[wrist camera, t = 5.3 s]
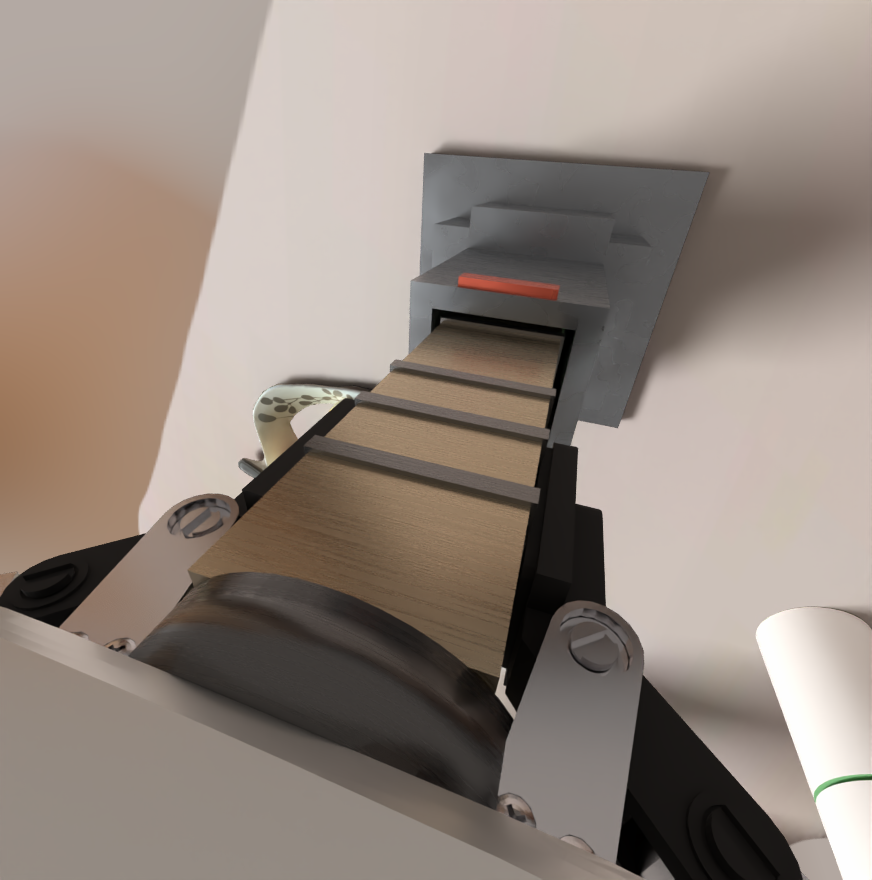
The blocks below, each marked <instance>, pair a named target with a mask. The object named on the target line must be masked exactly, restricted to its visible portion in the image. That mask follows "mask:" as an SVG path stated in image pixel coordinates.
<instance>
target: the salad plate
mask: <svg viewBox="0 0 872 880" xmlns="http://www.w3.org/2000/svg"><path fill="white" fill-rule="evenodd" d="M362 391H366V392H371V390H368V389H366V388H362V387H358V386H343V387H333V386H324V385H316V384H277V385H275V386H272V387H270V388H269V389H268V390H265V391H263V392H262V394H261V396H260V397H259V398H258V401H257V402H256V403H255V405H254V408H253V419H254V424H255V428H256V431H257V434H258V437H259V441H260V443H261V446H262V450H263V453H264V459H263V460H262V461H255V460H250V459H247V458H243V459H241V460H240V461H239V462H238V465H239V468H240V469H241V470H242V471H244V472H245V473H246V474H248V475H249V476H251V477H253V478H255V477H257V476H258V475H259V474H260V473H261V472H262V471H263V470H264V469H266V468H267V467H268V466H269V465H270V464H271V463H272V462H273V461H275V460H276V459H277V458H278V457H279V456H280V455H281V454H282V453H284V452H285V451H286V450H287V449H288V448H289V447H290V446H291V445H292V444H294V443H295V442H296V441H297V440H298V439H297V437H296V435H295V433H294V432H293V429H292V427H291V424H290V421H291V420H292V418H293V417H294V416H295V415H296V414H297V413H298V412H299V411H301V410H302V409H304V408H305V407H307V406H310V405H315V404H319V403H333V404H334V406H333V407H332V408H331V410H332V409H333V408H334V407H335V406H336V405H337V404H338V403H340V402H341V401H342V400H343V399H345V398H348V399H353V400H354V398H355V397H356V396H357V395H358V394H359V393H361V392H362ZM331 410H330V411H331ZM330 411H329V412H330Z"/></svg>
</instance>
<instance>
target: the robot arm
mask: <svg viewBox="0 0 872 880" xmlns="http://www.w3.org/2000/svg"><path fill="white" fill-rule="evenodd" d="M354 407H355V401H354V400H353V399H348V398H345V399H343V400H342V401H341V402H340V403H338V404H337V405H336V406H335V407H334V408H333V409H332V410H331V411H330V412H328V413H327V414H326V415H325V416H324V417H323V418H322V419H321V420H319V421H318V422H317V423H316V424H315V425H314V426H313V427H312V428H310V429H309V430H308V431H307V432H306V433H305V434H304V435H303V436H301V437H300V438H299V439H298V440H297V441H296V442H295V443H294V444H292V445H291V446H290V447H289V448H288V449H287V450H286V451H285V452H284V453H282V454H281V455H280V456H279V457H278V458H277V459H276V460H275V461H273V462H272V463H271V464H270V465H269V466H268V467H267V468H266V469H264V470H263V471H262V472H261V473H260V474H259V475H258V476H257V477H255V478H254V479H253V480H252V481H251V482H250V483H249V484H248V485H247V486H245V487H244V488H243V489H242V493H241V494H240V495H238V496H237V497H236V498H235V499H232V498H231V497H229V496H227V495H222V494H203V495H198V496H194V497H191V498H188V499H186V500H183V501H181V502H180V503H178V504H176V505H174V506H173V507H172V508H170V509H169V510H168V511H167V512H166V513H165V514H164V515H163V516H162V517H161V518H160V519H159V520H158V521H157V522H156V523H155V524H154V526H153V527H152V528H151V529H150V530H149V531H148V532H147V533H145V534H141V535H137V536H134V537H130V538H126V539H122V540H118V541H114V542H110V543H106V544H102V545H98V546H95V547H91V548H87V549H83V550H79V551H75V552H71V553H67V554H63V555H59V556H57V557H53V558H51V559H48V560H45V561H43V562H41V563H39V564H37V565H35V566H33V567H31V568H29V569H28V570H26V571H25V572H23V573H22V574H19V573H18V572H11V573H5V574H0V880H809V879H808V878H807V877H806V876H805V875H804V874H803V873H802V872H801V871H800V868H799V864H798V862H797V860H796V858H795V856H794V854H793V852H792V851H791V849H790V847H789V845H788V843H787V841H786V839H785V837H784V836H783V835H782V833H781V832H780V831H779V829H778V828H777V827H776V825H775V824H774V823H773V821H772V820H771V819H770V817H769V816H768V815H767V814H766V813H765V812H764V810H763V809H762V808H761V807H760V806H759V805H758V804H757V803H756V801H755V800H754V799H753V798H752V797H751V796H750V795H749V794H748V792H747V791H746V790H745V789H744V788H743V787H742V786H741V785H740V783H739V782H738V781H737V780H736V779H735V778H734V777H733V776H732V774H731V773H730V772H729V771H728V770H727V769H726V768H725V767H724V765H723V764H722V763H721V762H720V761H719V760H718V759H717V758H716V757H715V755H714V754H713V753H712V752H711V751H710V750H709V749H708V748H707V746H706V745H705V744H704V743H703V742H702V741H701V740H700V739H699V737H698V736H697V735H696V734H695V733H694V732H693V731H692V730H691V728H690V727H689V726H688V725H687V724H686V723H685V722H684V721H683V719H682V718H681V717H680V716H679V715H678V714H677V713H676V712H675V710H674V709H673V708H672V707H671V706H670V705H669V704H668V703H667V701H666V700H665V699H664V698H663V697H662V696H661V695H660V694H659V692H658V691H657V690H656V689H655V688H654V687H653V686H652V685H651V684H650V682H649V681H648V680H647V679H646V678H645V677H644V676H643V669H644V650H643V648H642V645H641V643H640V640H639V637H638V636H637V634H636V633H635V631H634V630H633V629H632V627H631V626H630V624H629V623H627V622H626V621H625V620H624V619H623V618H622V617H621V616H620V615H619V614H617V613H616V612H614V611H612V610H611V609H609V608H607V607H606V599H605V571H604V543H603V517H602V511H601V510H599V509H595V508H591V507H587V506H583V505H579V504H575V502H576V481H577V459H578V448H577V447H573V446H569V445H564V444H559V443H555V442H554V444H553V447H552V448H549V447H546V451H545V455H544V459H543V462H542V465H540V469H539V473H538V477H537V481H536V485H535V487H536V488H540V495H539V501H538V506H537V510H536V514H535V517H534V521H533V525H532V529H531V532H529V533H528V537H527V541H526V545H525V549H524V552H523V556H522V560H521V564H520V568H519V574H518V579H517V585H516V590H515V596H514V601H513V607H512V613H511V618H510V624H509V629H508V635H507V640H506V646H505V651H504V657H503V662H502V668H501V673H500V679H499V682H498V686H497V689H496V693H495V695H496V696H497V697H498V698H499V699H500V700H501V702H502V703H503V705H504V706H505V708H506V709H507V710H508V712H509V713H510V715H511V716H512V717H513V719H514V721H513V724H512V726H511V729H510V732H509V734H508V737H507V740H506V744H505V751H504V758H503V764H502V771H501V778H500V784H499V791H498V798H497V802H496V806H495V810H493V809H491V808H488V807H486V806H484V805H481V804H479V803H476V802H474V801H472V800H469V799H467V798H465V797H462V796H460V795H458V794H455V793H453V792H450V791H448V790H446V789H443V788H441V787H439V786H436V785H434V784H432V783H429V782H427V781H424V780H422V779H420V778H417V777H415V776H413V775H410V774H408V773H406V772H403V771H401V770H399V769H396V768H394V767H391V766H389V765H387V764H384V763H382V762H380V761H377V760H375V759H373V758H370V757H368V756H365V755H363V754H361V753H358V752H356V751H354V750H351V749H349V748H347V747H344V746H342V745H340V744H337V743H335V742H332V741H330V740H328V739H325V738H323V737H320V736H318V735H316V734H313V733H311V732H308V731H306V730H304V729H301V728H299V727H297V726H294V725H292V724H289V723H287V722H285V721H282V720H280V719H277V718H275V717H273V716H270V715H268V714H265V713H263V712H261V711H258V710H256V709H253V708H251V707H249V706H246V705H244V704H241V703H239V702H237V701H234V700H232V699H230V698H227V697H225V696H222V695H220V694H218V693H215V692H213V691H210V690H208V689H206V688H203V687H201V686H198V685H196V684H194V683H191V682H189V681H186V680H184V679H182V678H179V677H177V676H174V675H172V674H169V673H167V672H165V671H162V670H160V669H157V668H155V667H152V666H150V665H148V664H145V663H143V662H140V661H138V660H135V659H133V658H130V657H128V655H129V654H130V653H131V652H132V651H133V650H134V649H135V648H136V647H137V646H138V645H139V644H140V643H141V642H142V641H143V640H144V638H145V637H146V636H147V635H148V634H149V633H150V632H151V631H152V630H153V629H154V628H155V627H156V626H157V625H158V624H159V623H160V622H161V621H162V620H163V619H164V618H165V617H166V616H167V615H168V614H169V613H170V612H171V611H172V610H173V609H174V607H175V606H176V605H177V604H178V603H179V602H180V601H181V600H182V599H183V598H184V597H185V596H186V595H187V594H188V593H189V592H190V591H191V590H192V589H193V588H194V585H193V583H192V580H191V578H190V575H189V573H188V571H187V570H188V569H189V568H190V567H191V566H192V565H193V564H194V563H195V562H196V561H197V560H198V559H199V558H200V557H201V556H202V555H203V554H204V553H205V552H206V551H207V550H208V549H209V548H210V547H211V546H212V545H214V544H215V543H216V542H217V541H218V540H219V539H220V538H221V537H222V536H223V535H224V534H225V533H226V532H227V531H228V530H229V529H230V528H231V527H232V526H233V525H234V524H235V523H236V522H237V521H238V520H239V519H240V518H241V517H242V516H243V515H244V514H245V513H246V512H247V511H248V510H249V509H250V508H252V507H253V506H254V505H255V504H256V503H257V502H258V501H259V500H260V499H261V498H262V497H263V496H264V495H265V494H266V493H267V492H268V491H269V490H270V489H271V488H272V487H273V486H274V485H275V484H276V483H277V482H278V481H279V480H280V479H281V478H282V477H283V476H284V475H285V474H286V473H287V472H289V471H290V470H291V469H292V468H293V467H294V466H295V465H296V464H297V463H298V462H299V461H300V460H301V459H302V458H303V457H304V456H305V454H304V447H303V446H304V445H305V444H306V443H307V442H308V441H309V440H310V439H311V438H312V437H313V436H315V435H318V436H322V437H324V436H325V435H327V434H328V433H329V432H330V431H331V430H332V429H333V428H334V427H335V426H336V425H337V424H338V423H339V422H340V421H341V420H342V419H343V418H344V417H345V416H346V415H347V414H348V413H349V412H350V411H351V410H352V409H353V408H354Z"/></svg>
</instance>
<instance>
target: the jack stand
mask: <svg viewBox="0 0 872 880" xmlns="http://www.w3.org/2000/svg"><path fill="white" fill-rule="evenodd" d="M708 175H709V172H698V171H683V170H668V169H653V168H638V167H623V166H608V165H593V164H578V163H563V162H549V161H534V160H519V159H504V158H489V157H474V156H459V155H444V154H429V153H424V175H423V201H422V227H421V254H420V276H418V277H416V278H415V279H413V280H411V290H410V327H409V354H410V353H411V352H412V351H413V350H414V349H415V348H416V347H417V346H418V345H419V344H420V343H421V342H422V341H423V340H424V339H425V338H426V337H427V336H428V335H429V334H430V333H431V332H432V331H433V330H434V329H435V328H436V327H437V326H439V325H440V321H441V317H442V316H443V315H450V314H451V313H452V312H460V313H466V314H473V315H479V316H486V317H492V318H499V319H505V320H512V321H518V322H525V323H532V324H538V325H545V326H551V327H558V328H564V329H565V330H564V333H565V338H564V342H563V346H562V350H561V354H560V358H559V363H558V367H557V371H556V375H555V379H554V383H553V388H552V389H556V394H555V399H554V403H553V407H552V411H551V415H550V419H549V423H548V427H547V429H550V432H549V438H548V443H547V447H549V448H552V447H553V444H554V442H555V443H559V444H564V445H569V446H570V445H571V441H572V438H573V435H574V431H575V428H576V424H577V421H578V420H580V421H585V422H590V423H595V424H600V425H605V426H610V427H615V428H618V426H619V424H620V421H621V418H622V415H623V412H624V410H625V407H626V404H627V401H628V398H629V396H630V393H631V390H632V387H633V384H634V382H635V379H636V376H637V373H638V370H639V368H640V365H641V362H642V359H643V357H644V354H645V351H646V348H647V345H648V343H649V340H650V337H651V334H652V331H653V329H654V326H655V323H656V320H657V317H658V315H659V312H660V309H661V306H662V303H663V301H664V298H665V295H666V292H667V289H668V287H669V284H670V281H671V278H672V276H673V273H674V270H675V267H676V264H677V262H678V259H679V256H680V253H681V250H682V248H683V245H684V242H685V239H686V236H687V234H688V231H689V228H690V225H691V222H692V220H693V217H694V214H695V211H696V209H697V206H698V203H699V200H700V197H701V195H702V192H703V189H704V186H705V183H706V181H707V178H708Z"/></svg>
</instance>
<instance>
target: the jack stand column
mask: <svg viewBox="0 0 872 880" xmlns="http://www.w3.org/2000/svg"><path fill="white" fill-rule="evenodd" d="M564 330H565V329H564V328H558V327H551V326H545V325H538V324H532V323H525V322H518V321H512V320H505V319H499V318H492V317H486V316H479V315H473V314H466V313H460V312H452V313H451V314H450V315H443V316H442V317H441V321H440V325H439V326H437V327H436V328H435V329H434V330H433V331H432V332H431V333H430V334H429V335H428V336H427V337H426V338H425V339H424V340H423V341H422V342H421V343H420V344H419V345H418V346H417V347H416V348H415V349H414V350H413V351H412V352H411V353H410V354H409V355H408V356H407V357H406V358H405V359H404V360H403V361H401V360H395V361H394V362H393V363H392V364H390V373H389V374H388V375H387V376H386V377H385V378H384V379H383V380H382V381H381V382H380V383H379V384H378V385H377V386H376V387H375V388H374V389H373V390H372V391H371V392H366V391H362V392H361V393H359V394H358V395H357V396H356V397H355V398H354V401H355V407H354V408H353V409H352V410H351V411H350V412H349V413H348V414H347V415H346V416H345V417H344V418H343V419H342V420H341V421H340V422H339V423H338V424H337V425H336V426H335V427H334V428H333V429H332V430H331V431H330V432H329V433H328V434H327V435H325V436H324V437H322V436H318V435H315V436H313V437H312V438H311V439H310V440H309V441H308V442H307V443H306V444H305V445H304V446H303V447H304V454H305V456H304V457H303V458H302V459H301V460H300V461H299V462H298V463H297V464H296V465H295V466H294V467H293V468H292V469H291V470H290V471H289V472H287V473H286V474H285V475H284V476H283V477H282V478H281V479H280V480H279V481H278V482H277V483H276V484H275V485H274V486H273V487H272V488H271V489H270V490H269V491H268V492H267V493H266V494H265V495H264V496H263V497H262V498H261V499H260V500H259V501H258V502H257V503H256V504H255V505H254V506H253V507H252V508H250V509H249V510H248V511H247V512H246V513H245V514H244V515H243V516H242V517H241V518H240V519H239V520H238V521H237V522H236V523H235V524H234V525H233V526H232V527H231V528H230V529H229V530H228V531H227V532H226V533H225V534H224V535H223V536H222V537H221V538H220V539H219V540H218V541H217V542H216V543H215V544H214V545H212V546H211V547H210V548H209V549H208V550H207V551H206V552H205V553H204V554H203V555H202V556H201V557H200V558H199V559H198V560H197V561H196V562H195V563H194V564H193V565H192V566H191V567H190V568H189V569H188V570H187V571H188V573H189V575H190V578H191V580H192V583H193V585H194V588H193V589H192V590H191V591H190V592H189V593H188V594H187V595H186V596H185V597H184V598H183V599H182V600H181V601H180V602H179V603H178V604H177V605H176V606H175V607H174V609H173V610H172V611H171V612H170V613H169V614H168V615H167V616H166V617H165V618H164V619H163V620H162V621H161V622H160V623H159V624H158V625H157V626H156V627H155V628H154V629H153V630H152V631H151V632H150V633H149V634H148V635H147V636H146V637H145V638H144V640H143V641H142V642H141V643H140V644H139V645H138V646H137V647H136V648H135V649H134V650H133V651H132V652H131V653H130V654H129V655H128V657H130V658H133V659H135V660H138V661H140V662H143V663H145V664H148V665H150V666H152V667H155V668H157V669H160V670H162V671H165V672H167V673H169V674H172V675H174V676H177V677H179V678H182V679H184V680H186V681H189V682H191V683H194V684H196V685H198V686H201V687H203V688H206V689H208V690H210V691H213V692H215V693H218V694H220V695H222V696H225V697H227V698H230V699H232V700H234V701H237V702H239V703H241V704H244V705H246V706H249V707H251V708H253V709H256V710H258V711H261V712H263V713H265V714H268V715H270V716H273V717H275V718H277V719H280V720H282V721H285V722H287V723H289V724H292V725H294V726H297V727H299V728H301V729H304V730H306V731H308V732H311V733H313V734H316V735H318V736H320V737H323V738H325V739H328V740H330V741H332V742H335V743H337V744H340V745H342V746H344V747H347V748H349V749H351V750H354V751H356V752H358V753H361V754H363V755H365V756H368V757H370V758H373V759H375V760H377V761H380V762H382V763H384V764H387V765H389V766H391V767H394V768H396V769H399V770H401V771H403V772H406V773H408V774H410V775H413V776H415V777H417V778H420V779H422V780H424V781H427V782H429V783H432V784H434V785H436V786H439V787H441V788H443V789H446V790H448V791H450V792H453V793H455V794H458V795H460V796H462V797H465V798H467V799H469V800H472V801H474V802H476V803H479V804H481V805H484V806H486V807H488V808H491V809H493V810H495V806H496V802H497V798H498V791H499V784H500V778H501V771H502V764H503V758H504V751H505V744H506V740H507V737H508V734H509V732H510V729H511V726H512V724H513V721H514V719H513V717H512V716H511V715H510V713H509V712H508V710H507V709H506V708H505V706H504V705H503V703H502V702H501V700H500V699H499V698H498V697H497V696H496V695H495V693H496V689H497V686H498V682H499V679H500V673H501V668H502V662H503V657H504V651H505V646H506V640H507V635H508V629H509V624H510V618H511V613H512V607H513V601H514V596H515V590H516V585H517V579H518V574H519V568H520V564H521V560H522V556H523V552H524V549H525V545H526V541H527V537H528V533H529V532H531V529H532V525H533V521H534V517H535V514H536V510H537V506H538V501H539V495H540V488H536V487H535V485H536V481H537V477H538V473H539V469H540V465H542V462H543V459H544V455H545V451H546V447H547V443H548V438H549V432H550V429H547V427H548V423H549V419H550V415H551V411H552V407H553V403H554V399H555V394H556V389H552V388H553V383H554V379H555V375H556V371H557V367H558V363H559V358H560V354H561V350H562V346H563V342H564V338H565V333H564Z"/></svg>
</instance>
